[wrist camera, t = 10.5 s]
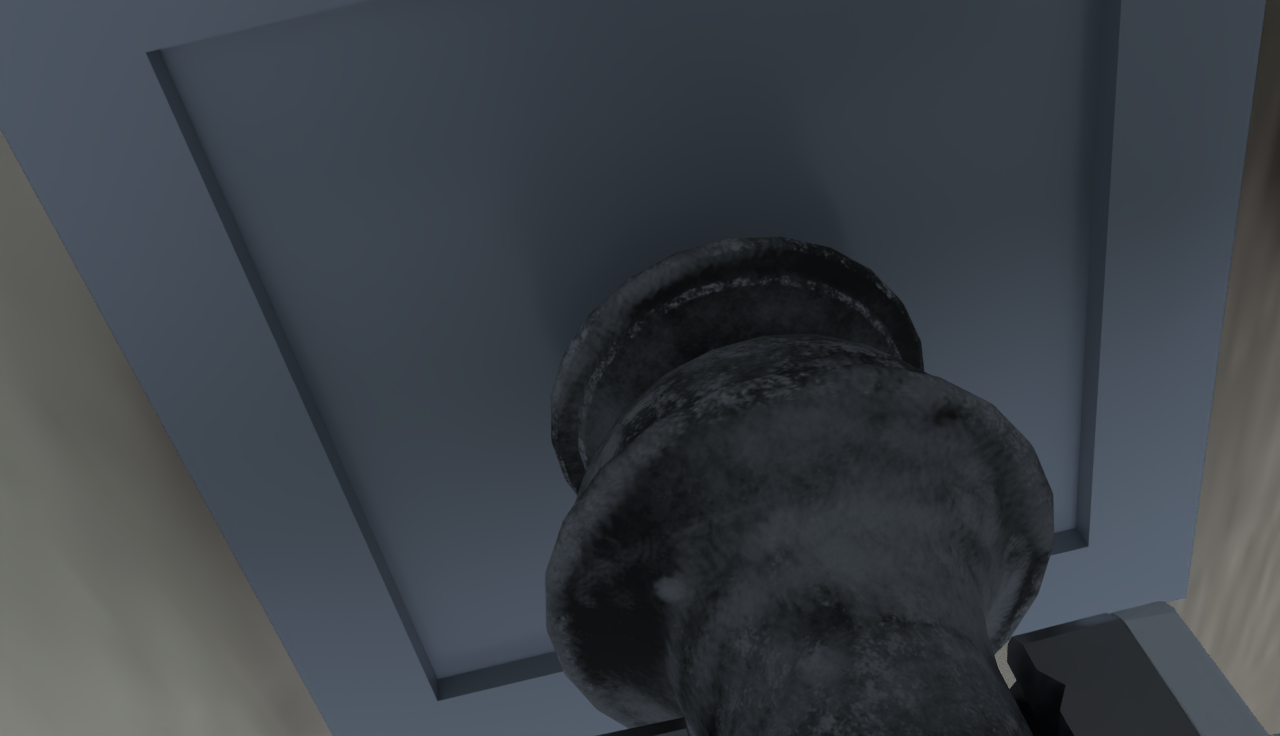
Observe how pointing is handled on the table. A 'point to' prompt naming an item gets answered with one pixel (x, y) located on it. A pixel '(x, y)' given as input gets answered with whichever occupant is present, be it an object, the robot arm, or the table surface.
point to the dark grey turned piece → (785, 508)
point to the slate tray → (616, 269)
